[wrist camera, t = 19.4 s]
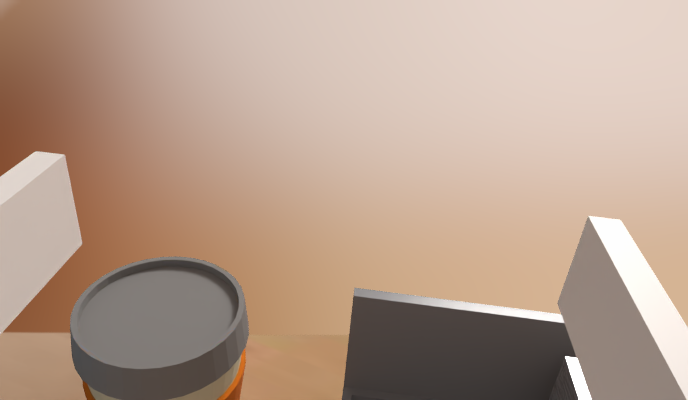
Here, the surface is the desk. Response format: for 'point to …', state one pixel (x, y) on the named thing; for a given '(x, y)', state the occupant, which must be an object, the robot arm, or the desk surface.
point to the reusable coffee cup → (161, 332)
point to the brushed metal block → (570, 382)
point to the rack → (450, 350)
